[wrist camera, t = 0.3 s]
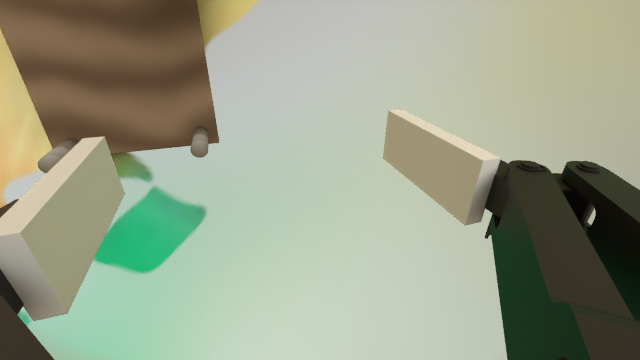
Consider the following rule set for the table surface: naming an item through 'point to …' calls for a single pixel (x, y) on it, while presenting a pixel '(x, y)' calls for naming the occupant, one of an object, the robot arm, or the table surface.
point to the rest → (113, 72)
